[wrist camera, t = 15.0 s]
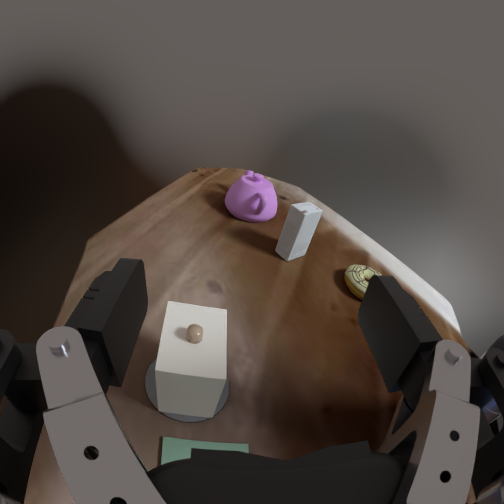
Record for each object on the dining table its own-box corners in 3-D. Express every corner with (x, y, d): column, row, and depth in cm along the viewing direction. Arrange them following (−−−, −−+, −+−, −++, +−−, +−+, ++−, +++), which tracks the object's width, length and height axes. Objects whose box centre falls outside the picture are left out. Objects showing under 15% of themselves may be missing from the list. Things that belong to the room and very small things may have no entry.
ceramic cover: (166, 352, 37) (168, 293, 30) (213, 359, 38) (228, 302, 31) (158, 410, 30) (154, 363, 23) (212, 417, 31) (228, 373, 24)
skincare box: (291, 245, 68) (308, 200, 61) (305, 256, 65) (324, 210, 59) (273, 251, 64) (289, 202, 57) (287, 263, 62) (305, 214, 55)
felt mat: (163, 437, 27) (163, 436, 27) (247, 444, 29) (248, 443, 29) (158, 528, 18) (158, 528, 17) (252, 532, 19) (253, 532, 19)
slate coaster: (186, 338, 40) (187, 336, 40) (245, 386, 36) (246, 384, 36) (128, 379, 32) (128, 377, 32) (189, 439, 28) (189, 438, 28)
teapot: (264, 196, 87) (273, 164, 81) (282, 233, 72) (295, 194, 66) (219, 191, 83) (226, 157, 77) (227, 227, 68) (237, 186, 62)
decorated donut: (361, 270, 67) (367, 257, 65) (391, 299, 60) (399, 287, 58) (333, 278, 62) (340, 264, 59) (365, 311, 55) (374, 298, 53)
